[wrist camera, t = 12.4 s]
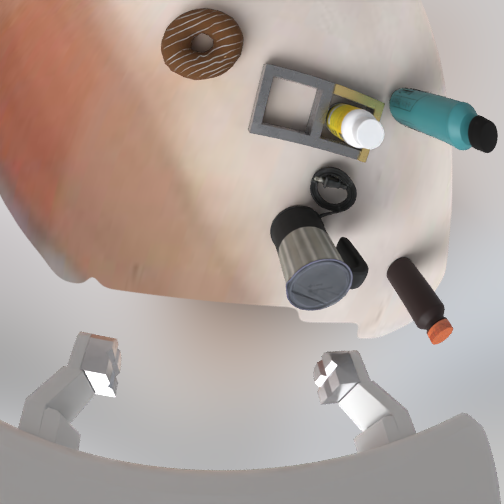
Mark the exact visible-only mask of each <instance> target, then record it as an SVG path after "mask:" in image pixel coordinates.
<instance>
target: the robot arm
mask: <svg viewBox="0 0 504 504" xmlns="http://www.w3.org/2000/svg"><path fill="white" fill-rule="evenodd" d="M321 357H322V360H321V361H319V362H317V364H316V365H315V367H314V372H313V374H314V381H315V383H316V384H317V385H318V386H319V389H318V396H319V399H320V403H321V404H331V403H338V405H339V406H340V407H341V408H342V409H343V410H344V411H345V413H346V414H347V415H348V416H349V417H350V418H351V419H352V421H353V422H354V423H355V424H356V425H357V426H358V427H359V428H360V429H361V431H363V432H362V433H361V434H359V435H358V436H356V437H355V439H354V442H355V446H356V450H357V453H354V454H351V455H346V456H342V457H338V458H333V459H328V460H323V461H318V462H312V463H306V464H300V465H293V466H285V467H276V468H265V469H252V470H190V469H177V468H166V467H157V466H148V465H142V464H136V463H130V462H124V461H119V460H114V459H110V458H105V457H101V456H97V455H93V454H89V453H85V452H82V451H79V443H80V434H79V432H78V431H77V430H76V429H75V428H74V427H73V426H72V425H71V424H70V423H71V422H72V421H73V420H74V419H75V418H76V417H77V415H78V414H79V413H80V412H81V411H82V410H83V409H84V407H85V406H86V405H87V404H88V403H89V402H90V400H91V399H92V398H93V397H94V396H95V393H96V394H101V395H107V396H112V397H115V396H116V390H117V385H118V382H117V378H116V376H117V375H118V374H119V373H120V369H121V352H120V350H119V349H118V341H117V339H115V338H110V337H105V336H99V335H94V334H90V333H85V332H80V333H79V334H78V335H77V338H76V341H75V344H74V347H73V350H72V353H71V356H70V359H69V362H68V365H67V367H66V366H63V367H62V368H61V369H60V370H58V371H57V372H56V373H55V374H54V375H53V376H51V377H50V378H49V379H48V380H47V381H46V382H44V383H43V384H42V385H41V386H40V387H39V388H37V389H36V390H35V391H34V392H33V393H32V394H30V395H29V396H28V397H27V398H26V401H25V404H24V407H23V411H22V415H21V419H20V423H19V427H18V428H16V427H14V426H12V425H10V424H8V423H6V422H4V421H2V420H0V504H501V501H500V492H499V484H498V478H497V472H496V468H495V463H494V460H493V455H492V452H491V448H490V445H489V442H488V439H487V436H486V433H485V431H484V429H483V427H482V426H481V425H480V424H479V423H478V422H477V421H476V420H475V419H473V418H472V417H471V416H469V415H468V414H466V413H461V414H459V415H457V416H454V417H453V418H451V419H448V420H446V421H444V422H442V423H440V424H438V425H435V426H433V427H431V428H428V429H426V430H424V431H421V432H419V433H416V431H415V429H414V426H413V423H412V421H411V418H410V415H409V413H408V410H407V409H405V408H404V407H403V406H402V405H401V404H400V403H399V402H398V401H396V400H395V399H394V398H393V397H391V395H389V394H388V393H387V392H386V391H385V390H384V389H382V388H381V387H380V386H379V385H378V384H377V383H375V382H374V381H371V380H370V378H369V375H368V373H367V370H366V368H365V365H364V363H363V360H362V358H361V355H360V353H359V352H358V351H355V350H353V351H335V352H325V353H324V354H323V355H322V356H321Z"/></svg>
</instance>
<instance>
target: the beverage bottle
mask: <svg viewBox="0 0 504 504" xmlns="http://www.w3.org/2000/svg"><path fill="white" fill-rule="evenodd" d="M390 111H391V114H392V116H393V117H394V119H396V120H397V121H398V122H399V123H400V124H403V125H404V126H408V128H411V129H414V130H415V129H416V131H417V130H418V132H420V133H421V132H423V133H425V134H426V135H429V136H433V138H434V137H435V138H437V139H439V140H442V141H444V142H446V143H448V144H450V145H452V146H454V147H455V148H457V149H459V150H467V149H469V148H471V147H474V148H475V149H477V150H480V151H483V152H485V153H489V152H491V151H492V150H493V149H494V148H495V146H496V143H497V137H498V135H497V129H496V126H495V125H494V123H493V122H491V121H490V120H487V119H486V118H484V117H482V116H479V115H477V113H476V111H475V110H474V108H473V107H472V106H471V105H470V104H468V103H465V102H460V101H457V100H453V99H449V98H446V97H443V96H439V95H435V94H431V92H430V93H429V92H428V93H427V91H426V92H424V91H420V90H418V91H417V89H413V90H412V88H411V89H407V88H405V87H404V88H402V89H398V90H397V91H395V92H394V93H393V94H392V96H391V99H390Z"/></svg>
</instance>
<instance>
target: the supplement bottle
mask: <svg viewBox="0 0 504 504" xmlns="http://www.w3.org/2000/svg"><path fill="white" fill-rule="evenodd" d="M325 124H326V127H327V129H328V130H329V131H330V132H331V133H332V134H333V135H335V136H337V137H338V138H340V139H342V140H343V141H345V142H346V143H348V144H349V145H351V146H353V147H356V148H366V149H374V148H377V147H378V146H379V145H380V144H381V143H382V141H383V139H384V129H383V126H382V125H381V123H380V122H379V121H377V120H376V118H375V117H374V116H373V115H372V114H371V113H370V112H368V111H366V110H363V109H360V108H357V107H354V106H351V105H348V104H345V103H337V104H334V105H332V106H331V107H330V108H329V109H328V112H327V116H326V119H325Z"/></svg>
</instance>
